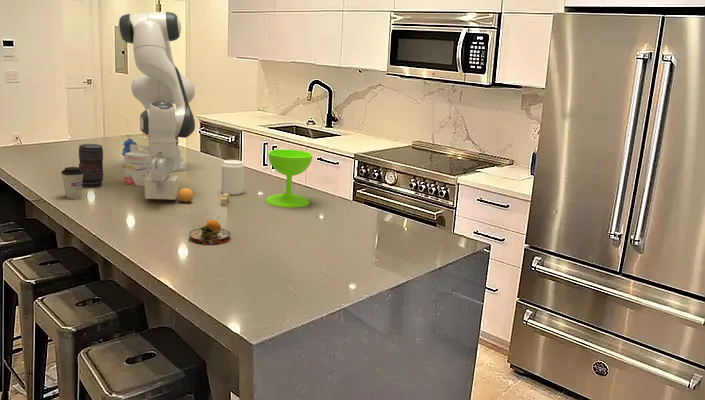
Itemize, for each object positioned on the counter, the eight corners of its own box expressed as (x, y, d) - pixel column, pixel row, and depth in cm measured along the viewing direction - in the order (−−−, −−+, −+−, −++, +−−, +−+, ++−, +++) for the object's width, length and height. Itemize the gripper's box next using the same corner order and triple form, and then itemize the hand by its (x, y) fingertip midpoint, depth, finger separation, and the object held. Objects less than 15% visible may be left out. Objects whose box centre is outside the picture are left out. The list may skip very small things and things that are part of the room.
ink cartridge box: (124, 184, 226) (123, 145, 222) (130, 181, 231) (129, 143, 227) (145, 186, 225) (145, 147, 222) (151, 183, 230) (151, 145, 226)
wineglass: (283, 193, 230) (286, 147, 226) (318, 202, 223) (321, 154, 218) (257, 201, 217) (258, 152, 213) (292, 210, 209) (295, 159, 205)
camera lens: (87, 189, 215) (86, 148, 211) (75, 184, 220) (74, 144, 216) (108, 186, 221) (107, 146, 218) (96, 181, 226) (95, 142, 222)
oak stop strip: (223, 200, 215) (223, 193, 214) (228, 200, 215) (228, 193, 215) (220, 205, 207) (221, 199, 207) (226, 206, 208) (226, 199, 207)
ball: (184, 183, 209) (197, 191, 210) (177, 195, 210) (189, 202, 211) (181, 187, 205) (194, 195, 206) (174, 198, 205) (186, 206, 207)
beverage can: (238, 196, 221) (239, 164, 218) (217, 193, 223) (218, 162, 220) (246, 191, 229) (247, 161, 226) (226, 189, 230) (227, 158, 227)
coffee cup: (57, 197, 202) (56, 168, 200) (75, 193, 209) (74, 165, 206) (71, 200, 199) (70, 171, 197) (89, 197, 205) (88, 168, 203)
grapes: (115, 165, 256) (114, 137, 253) (130, 163, 261) (129, 136, 258) (129, 170, 249) (128, 141, 246) (144, 168, 254) (143, 140, 251)
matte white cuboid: (149, 193, 210) (149, 175, 208) (178, 194, 211) (178, 176, 209) (144, 198, 203) (144, 179, 202) (175, 199, 204) (174, 180, 203)
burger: (213, 230, 182) (214, 206, 180) (238, 240, 175) (239, 216, 173) (179, 238, 173) (180, 213, 171) (205, 249, 166) (205, 223, 164)
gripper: (166, 156, 194) (166, 197, 197) (177, 145, 213) (177, 183, 217) (146, 155, 193) (146, 196, 196) (159, 144, 212) (159, 182, 216)
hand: (162, 189), depth 207 cm, fingers closed on matte white cuboid, 7 cm apart
